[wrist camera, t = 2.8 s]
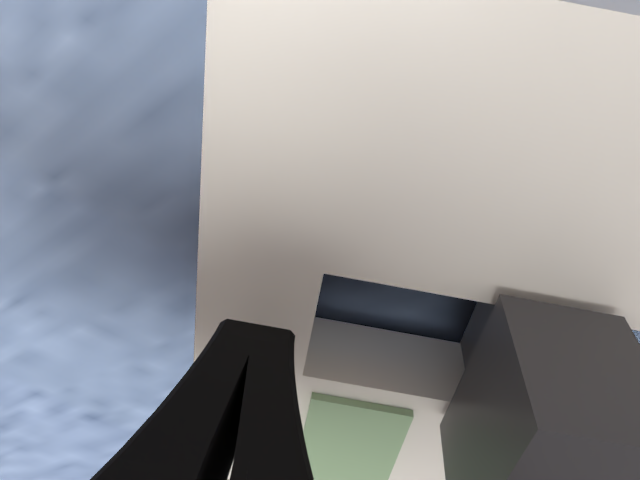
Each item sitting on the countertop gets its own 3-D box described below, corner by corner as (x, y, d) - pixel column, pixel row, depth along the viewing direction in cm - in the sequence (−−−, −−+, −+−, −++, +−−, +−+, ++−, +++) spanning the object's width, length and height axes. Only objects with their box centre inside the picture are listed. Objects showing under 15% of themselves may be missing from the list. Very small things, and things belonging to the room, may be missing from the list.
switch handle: (593, 260, 12) (702, 458, 8) (524, 382, 14) (582, 584, 10) (483, 240, 12) (537, 429, 8) (433, 366, 14) (454, 562, 10)
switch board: (927, 54, 9) (1058, 98, 8) (579, 495, 17) (603, 568, 16) (239, -79, 9) (206, -65, 7) (207, 429, 17) (186, 496, 15)
